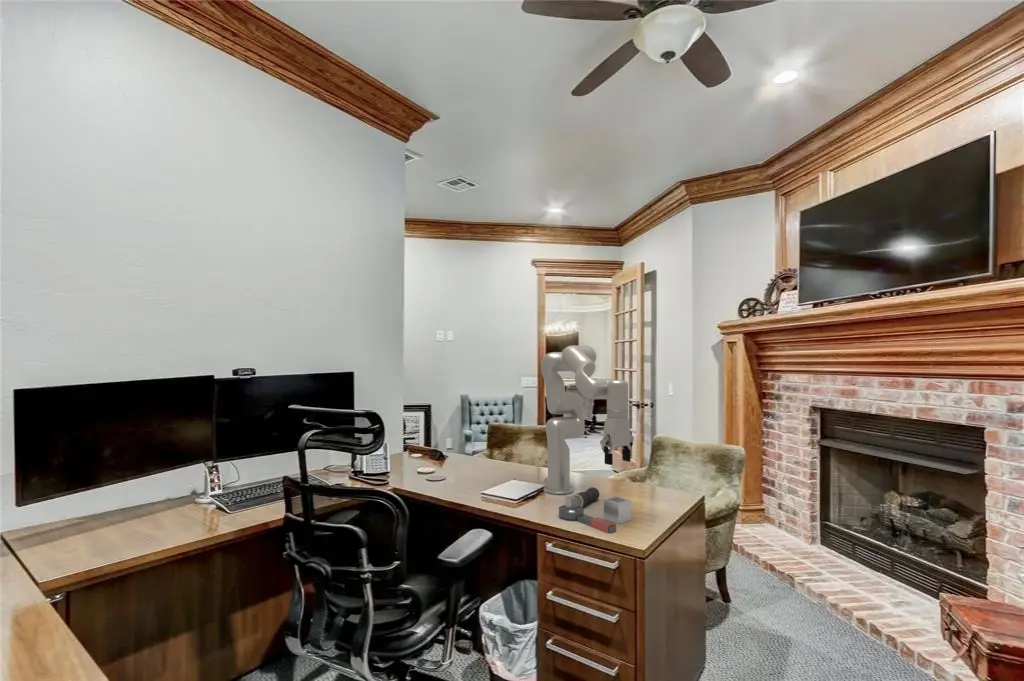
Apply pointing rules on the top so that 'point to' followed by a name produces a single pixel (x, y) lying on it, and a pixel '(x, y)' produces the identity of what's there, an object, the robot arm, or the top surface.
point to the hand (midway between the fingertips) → (617, 462)
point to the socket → (617, 510)
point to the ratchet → (583, 516)
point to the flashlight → (586, 496)
